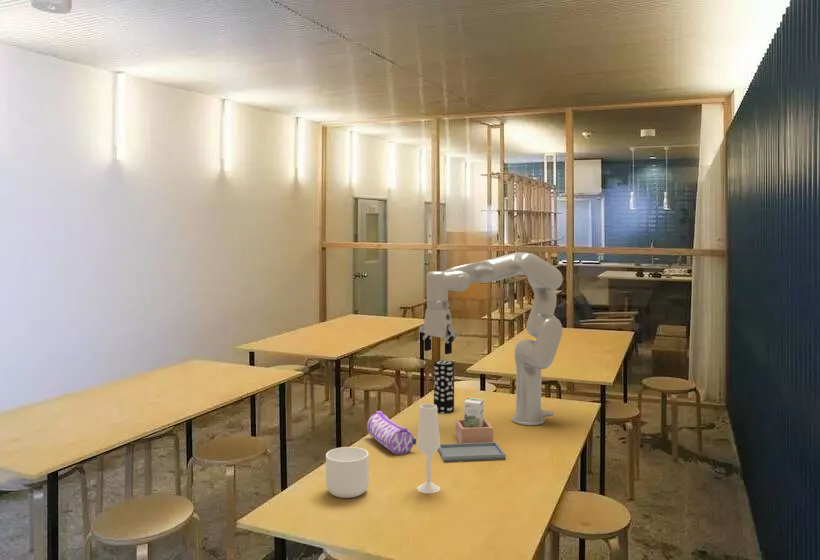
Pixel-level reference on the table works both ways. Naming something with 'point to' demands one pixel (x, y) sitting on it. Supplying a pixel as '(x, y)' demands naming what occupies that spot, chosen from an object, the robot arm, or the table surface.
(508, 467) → the table surface
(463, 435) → the holder
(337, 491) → the handleless ceramic cup
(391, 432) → the pencil case
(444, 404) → the spotted tube
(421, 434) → the champagne flute
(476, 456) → the tray
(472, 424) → the syrup box
